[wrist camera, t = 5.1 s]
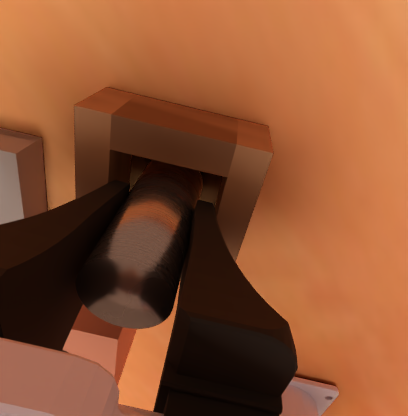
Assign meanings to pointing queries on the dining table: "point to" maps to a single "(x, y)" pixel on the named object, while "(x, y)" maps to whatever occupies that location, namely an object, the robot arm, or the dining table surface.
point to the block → (100, 342)
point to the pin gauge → (143, 249)
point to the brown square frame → (172, 150)
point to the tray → (21, 176)
